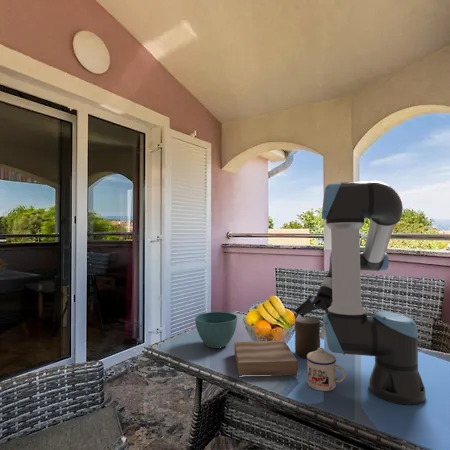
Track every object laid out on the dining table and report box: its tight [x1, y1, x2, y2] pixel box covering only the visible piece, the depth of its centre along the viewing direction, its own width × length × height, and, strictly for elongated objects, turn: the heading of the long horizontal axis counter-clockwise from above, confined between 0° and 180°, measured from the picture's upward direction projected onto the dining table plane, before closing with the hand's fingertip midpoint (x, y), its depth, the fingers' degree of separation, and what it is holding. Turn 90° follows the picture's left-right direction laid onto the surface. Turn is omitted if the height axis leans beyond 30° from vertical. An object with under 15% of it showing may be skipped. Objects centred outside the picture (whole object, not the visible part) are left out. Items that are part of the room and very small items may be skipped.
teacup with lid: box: [306, 347, 346, 392], centre depth 103 cm, size 12×9×12 cm
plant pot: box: [194, 311, 238, 349], centre depth 141 cm, size 18×18×12 cm
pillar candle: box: [294, 316, 321, 360], centre depth 129 cm, size 10×10×15 cm
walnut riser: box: [233, 340, 298, 377], centre depth 120 cm, size 20×20×5 cm
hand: (306, 333), depth 130 cm, fingers open, 13 cm apart
